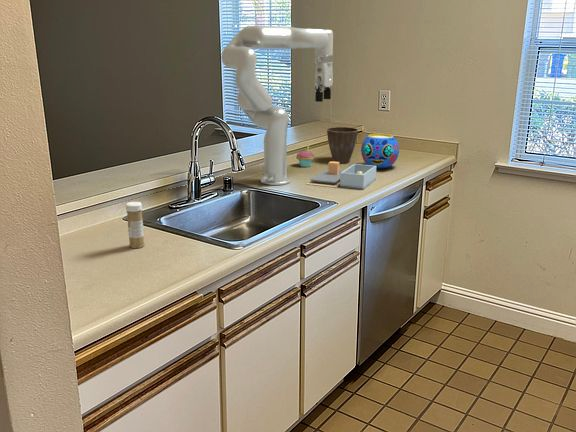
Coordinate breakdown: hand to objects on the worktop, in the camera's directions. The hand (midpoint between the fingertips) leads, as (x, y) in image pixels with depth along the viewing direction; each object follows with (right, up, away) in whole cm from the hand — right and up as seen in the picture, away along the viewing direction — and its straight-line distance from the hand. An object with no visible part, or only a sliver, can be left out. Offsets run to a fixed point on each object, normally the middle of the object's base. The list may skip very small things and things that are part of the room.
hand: (323, 100), depth 258 cm
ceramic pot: (+27, -28, +19) cm, 44 cm away
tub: (+14, -37, -9) cm, 40 cm away
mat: (+3, -35, -4) cm, 35 cm away
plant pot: (+11, -24, +30) cm, 40 cm away
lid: (+3, -34, -4) cm, 34 cm away
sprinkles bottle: (-61, -60, -80) cm, 117 cm away
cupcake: (-7, -27, +22) cm, 36 cm away
